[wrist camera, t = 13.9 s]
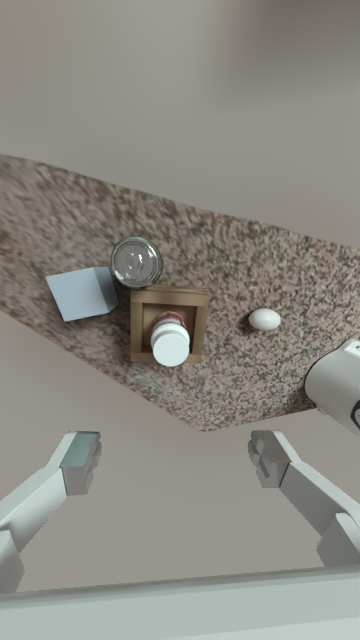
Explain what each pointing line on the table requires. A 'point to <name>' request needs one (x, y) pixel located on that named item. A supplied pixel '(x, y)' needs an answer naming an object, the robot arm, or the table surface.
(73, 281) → the slate block
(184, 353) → the pill bottle
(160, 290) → the wooden open box
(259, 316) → the egg
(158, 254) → the soda can
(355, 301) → the table surface
